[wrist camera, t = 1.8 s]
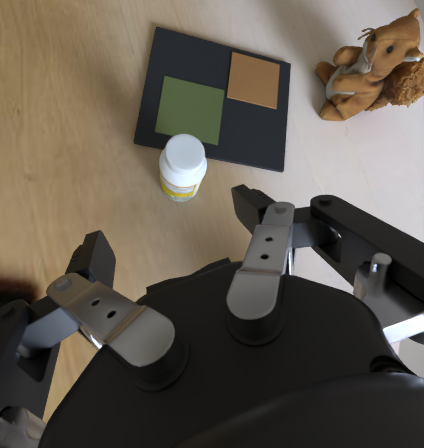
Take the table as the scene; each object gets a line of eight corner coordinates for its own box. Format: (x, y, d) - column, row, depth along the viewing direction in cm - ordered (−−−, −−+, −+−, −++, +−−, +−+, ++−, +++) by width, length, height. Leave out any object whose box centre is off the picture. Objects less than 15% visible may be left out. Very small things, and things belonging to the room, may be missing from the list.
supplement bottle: (179, 209, 32) (183, 188, 23) (152, 181, 32) (145, 148, 23) (207, 184, 33) (222, 155, 24) (180, 157, 33) (185, 117, 24)
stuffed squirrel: (310, 65, 40) (377, -27, 27) (381, 83, 42) (473, 7, 30) (308, 117, 38) (379, 46, 26) (382, 134, 41) (481, 75, 28)
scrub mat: (134, 143, 32) (133, 140, 32) (156, 29, 36) (155, 24, 35) (281, 172, 36) (284, 170, 35) (289, 66, 39) (291, 62, 38)
